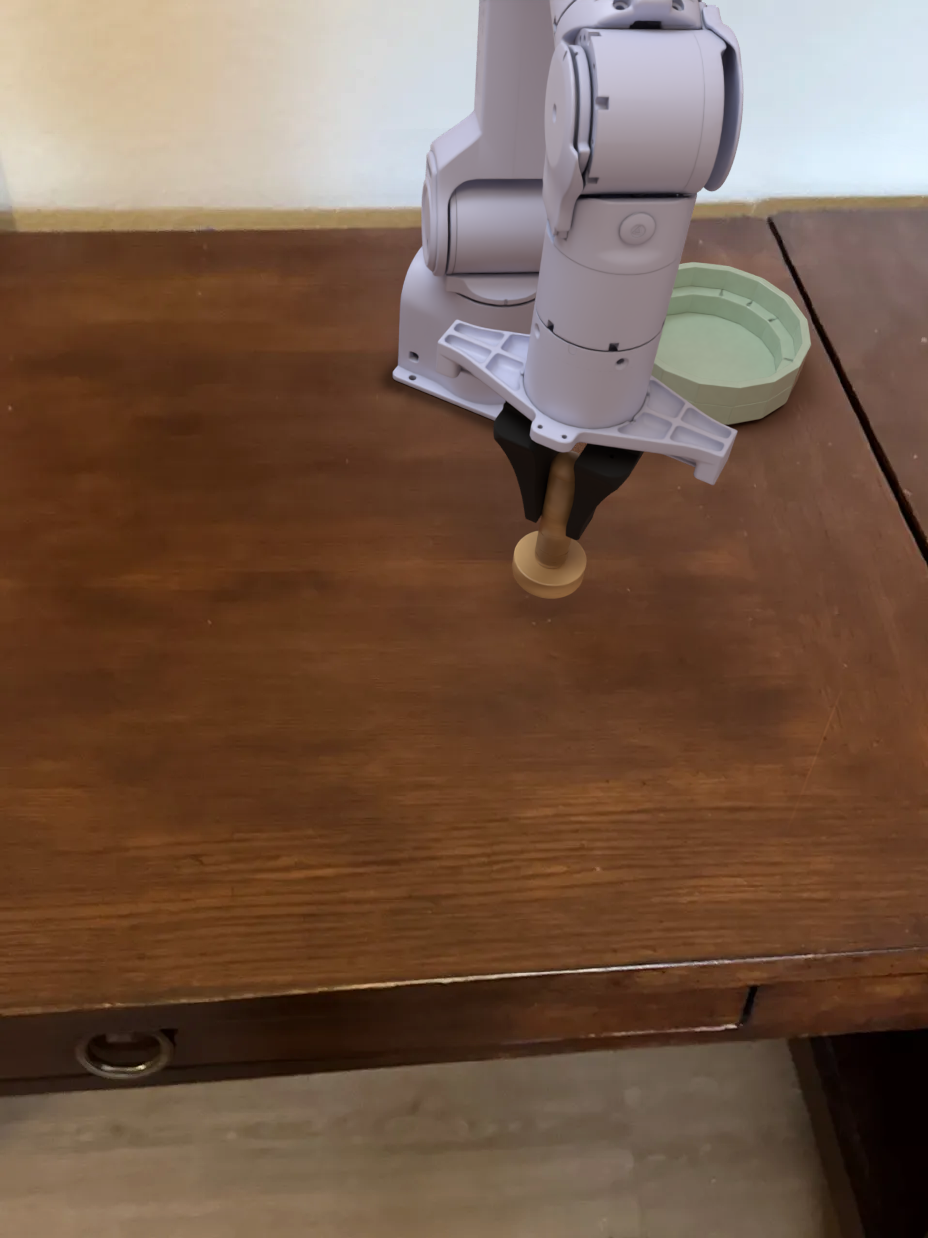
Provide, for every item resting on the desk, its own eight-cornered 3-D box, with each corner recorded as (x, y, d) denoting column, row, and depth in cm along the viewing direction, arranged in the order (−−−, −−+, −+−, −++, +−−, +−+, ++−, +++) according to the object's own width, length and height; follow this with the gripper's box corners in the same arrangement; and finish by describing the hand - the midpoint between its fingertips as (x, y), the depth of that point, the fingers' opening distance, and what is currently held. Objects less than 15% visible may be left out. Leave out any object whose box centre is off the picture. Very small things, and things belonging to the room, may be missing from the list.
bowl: (582, 386, 85) (591, 341, 82) (651, 285, 93) (662, 241, 89) (759, 456, 82) (775, 412, 79) (816, 346, 90) (833, 302, 86)
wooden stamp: (499, 580, 66) (517, 465, 59) (530, 533, 69) (551, 416, 61) (565, 610, 65) (591, 497, 58) (594, 561, 68) (623, 446, 61)
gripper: (409, 300, 52) (400, 512, 63) (724, 425, 49) (657, 626, 60) (483, 217, 56) (462, 430, 67) (779, 328, 53) (707, 533, 64)
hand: (558, 517), depth 64 cm, fingers closed on wooden stamp, 2 cm apart
